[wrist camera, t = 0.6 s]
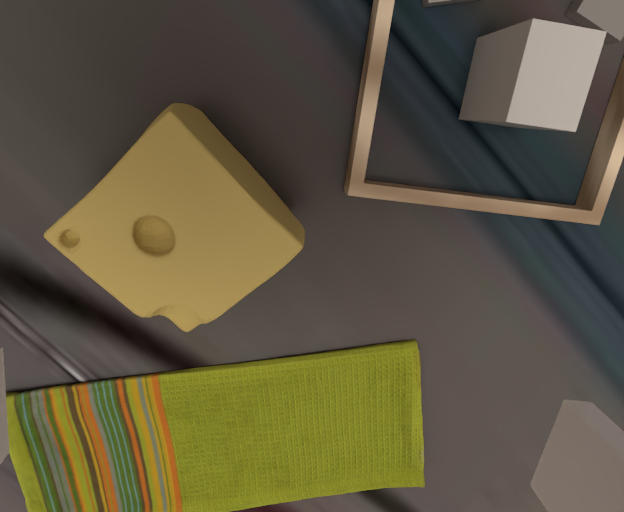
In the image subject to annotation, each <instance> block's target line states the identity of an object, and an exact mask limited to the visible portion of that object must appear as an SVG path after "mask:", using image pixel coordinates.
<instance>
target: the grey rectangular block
mask: <svg viewBox="0 0 624 512" xmlns="http://www.w3.org/2000/svg"><path fill="white" fill-rule="evenodd" d="M565 16H566V17H568V18H569V19H571V20H572V21H574V22H575V23H577V24H578V25H580V26H581V27H584V28H590V29H595V30H601V31H607V33H606V36H605V39H604V42H605V43H607V44H608V43H613V42H618V41H621V39H622V38H623V36H624V0H573V2H572V4H571V5H570V7H569V9H568V11H567V12H566V14H565Z"/></svg>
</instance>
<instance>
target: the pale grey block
mask: <svg viewBox="0 0 624 512" xmlns="http://www.w3.org/2000/svg"><path fill="white" fill-rule="evenodd" d="M606 33H607V31H601V30H595V29H590V28H584V27H578V26H573V25H567V24H562V23H556V22H550V21H545V20H539V19H530V20H527V21H524V22H521V23H519V24H516V25H513V26H510V27H507V28H504V29H502V30H499V31H496V32H493V33H490V34H487V35H485V36H482V37H479V38H477V41H476V45H475V49H474V54H473V58H472V63H471V67H470V71H469V76H468V80H467V85H466V89H465V93H464V98H463V102H462V107H461V111H460V115H459V119H460V120H466V121H473V122H480V123H487V124H494V125H501V126H508V127H515V128H528V129H542V130H555V131H568V132H576V130H577V126H578V123H579V120H580V117H581V114H582V110H583V107H584V104H585V101H586V97H587V94H588V91H589V88H590V85H591V81H592V78H593V75H594V72H595V68H596V65H597V62H598V59H599V56H600V52H601V49H602V46H603V43H604V39H605V36H606Z"/></svg>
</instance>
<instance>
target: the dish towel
mask: <svg viewBox="0 0 624 512" xmlns="http://www.w3.org/2000/svg"><path fill="white" fill-rule="evenodd" d="M420 366H421V363H420V353H419V350H418V346H417V342H416V340H415V339H413V340H406V341H400V342H392V343H384V344H377V345H371V346H363V347H357V348H351V349H343V350H335V351H329V352H322V353H315V354H308V355H301V356H292V357H285V358H276V359H268V360H261V361H253V362H246V363H238V364H229V365H218V366H209V367H198V368H191V369H184V370H176V371H168V372H161V373H155V374H148V375H141V376H132V377H124V378H115V379H108V380H99V381H93V382H85V383H78V384H72V385H60V386H53V387H45V388H40V389H36V390H31V391H26V392H21V393H6V405H7V421H8V436H9V453H10V457H11V459H12V462H13V465H14V468H15V471H16V474H17V477H18V481H19V483H20V486H21V489H22V492H23V494H24V497H25V502H26V508H27V510H28V512H229V511H235V510H242V509H247V508H252V507H258V506H264V505H269V504H277V503H283V502H291V501H297V500H301V499H306V498H314V497H321V496H329V495H338V494H344V493H351V492H357V491H364V490H372V489H379V488H390V487H424V486H425V477H424V474H423V469H424V441H423V426H422V423H423V421H422V411H421V409H422V405H421V379H420V377H421V375H420V371H421V370H420Z"/></svg>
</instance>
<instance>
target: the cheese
mask: <svg viewBox="0 0 624 512" xmlns="http://www.w3.org/2000/svg"><path fill="white" fill-rule="evenodd" d="M44 237H45V238H46V239H47V240H48V241H49V242H50V243H51V244H52V245H53V246H54V247H56V248H57V249H58V250H59V251H60V252H61V253H63V254H64V255H65V256H66V257H67V258H68V259H70V260H71V261H72V262H73V263H74V264H76V265H77V266H78V267H79V268H80V269H81V270H82V271H83V272H84V273H86V274H87V275H88V276H89V277H91V278H92V279H93V280H94V281H95V282H97V283H98V284H99V285H100V286H102V287H103V288H104V289H105V290H107V291H108V292H109V293H110V294H111V295H113V296H114V297H115V298H116V299H118V300H119V301H120V302H121V303H122V304H123V305H125V306H126V307H127V308H128V309H130V310H131V311H132V312H133V313H135V314H136V315H138V316H140V317H152V316H155V315H163V316H165V317H167V318H169V319H170V320H172V321H173V322H174V323H175V324H176V325H177V326H178V327H179V328H180V329H181V330H183V331H185V332H189V331H191V330H192V329H194V328H195V327H196V326H198V325H199V324H204V323H209V322H210V321H213V320H215V319H216V318H217V317H219V316H220V315H222V314H223V313H224V312H226V311H227V310H228V309H229V308H231V307H232V306H233V305H235V304H236V303H237V302H238V301H240V300H241V299H242V298H243V297H245V296H246V295H247V294H249V293H250V292H251V291H253V290H254V289H255V288H257V287H258V286H260V285H261V284H262V283H264V282H265V281H266V280H268V279H269V278H270V277H272V276H273V275H274V274H276V273H277V272H278V271H279V270H280V269H282V268H283V267H284V266H285V265H286V264H287V263H289V262H290V261H291V260H292V259H293V258H294V257H295V256H296V255H297V254H298V253H299V252H300V251H301V250H302V248H303V245H304V241H305V231H304V228H303V226H302V224H301V223H300V222H299V221H298V220H297V219H296V217H295V216H294V215H293V214H292V213H291V211H290V209H289V208H288V207H287V206H286V205H285V203H284V202H283V201H282V200H281V199H280V198H279V196H278V195H277V194H276V193H275V192H274V191H273V189H272V188H271V187H270V186H269V185H268V184H267V182H266V181H265V180H264V179H263V178H262V177H261V176H260V175H259V173H258V172H257V171H256V170H255V169H254V168H253V167H252V166H251V165H250V164H249V163H248V161H247V160H246V159H245V158H244V157H243V156H242V155H241V154H240V153H239V152H238V151H237V150H236V149H235V147H234V146H233V145H232V144H231V143H230V142H229V141H228V140H227V139H226V138H225V137H224V136H223V135H222V134H221V133H220V131H219V130H218V129H217V128H216V127H215V126H214V125H213V124H212V122H211V121H210V120H209V119H208V118H207V117H206V116H205V115H204V113H203V112H202V111H201V110H199V109H197V108H195V107H193V106H191V105H188V104H184V103H173V104H171V105H169V106H168V107H167V108H166V109H165V110H164V111H163V112H162V113H161V114H160V115H159V116H158V117H157V118H156V119H155V120H154V121H153V122H152V123H151V124H150V126H149V127H148V128H147V129H146V131H145V132H144V133H143V134H142V136H141V137H140V138H139V139H138V140H137V142H136V143H135V144H134V145H133V146H132V147H131V148H130V149H129V150H128V152H127V153H126V154H125V155H124V156H123V157H122V158H121V159H120V161H119V162H118V163H117V164H116V165H115V166H114V167H113V168H112V169H111V170H110V171H109V173H108V174H107V175H106V176H105V177H104V178H103V179H102V180H101V181H100V182H99V183H98V184H97V185H96V186H95V187H94V188H93V189H92V190H91V191H90V192H89V193H88V194H87V195H86V196H85V197H84V198H83V199H82V200H81V201H79V202H78V203H77V204H76V205H75V206H74V207H73V208H72V209H70V210H69V211H68V212H67V213H66V214H65V215H64V216H62V217H61V218H60V219H59V220H58V221H57V222H56V223H55V224H53V225H52V226H51V227H50V228H49V229H48V230H47V231H46V232H45V233H44Z"/></svg>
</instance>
